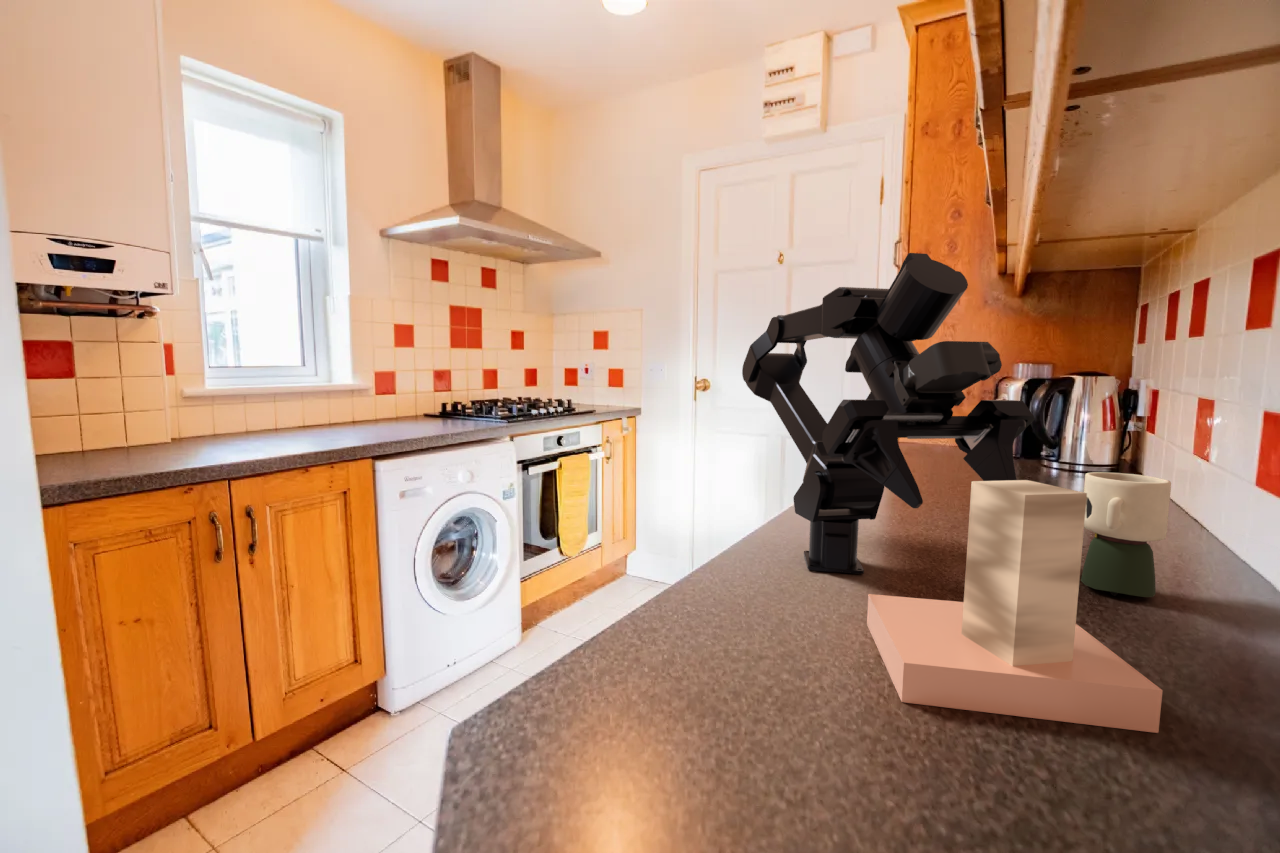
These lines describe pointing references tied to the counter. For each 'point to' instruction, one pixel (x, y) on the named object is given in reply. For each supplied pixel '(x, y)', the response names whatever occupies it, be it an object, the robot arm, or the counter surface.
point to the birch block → (1023, 570)
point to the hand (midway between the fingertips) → (967, 504)
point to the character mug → (1124, 531)
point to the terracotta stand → (1004, 671)
